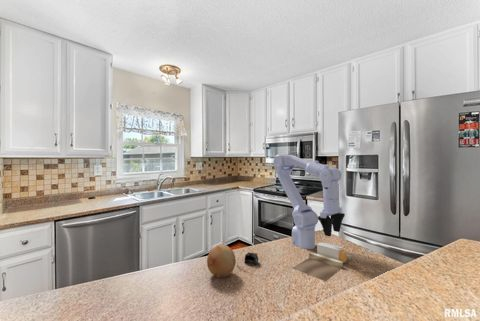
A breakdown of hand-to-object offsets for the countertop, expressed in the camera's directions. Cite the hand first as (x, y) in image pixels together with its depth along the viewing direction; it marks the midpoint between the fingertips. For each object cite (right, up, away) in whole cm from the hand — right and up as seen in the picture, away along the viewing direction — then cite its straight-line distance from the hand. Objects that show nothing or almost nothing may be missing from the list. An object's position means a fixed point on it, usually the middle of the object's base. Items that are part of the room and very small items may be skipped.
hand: (332, 233), depth 85 cm
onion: (-42, -10, -12) cm, 45 cm away
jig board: (-6, -10, -7) cm, 13 cm away
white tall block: (-2, -9, -3) cm, 9 cm away
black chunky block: (-32, -11, -5) cm, 34 cm away
